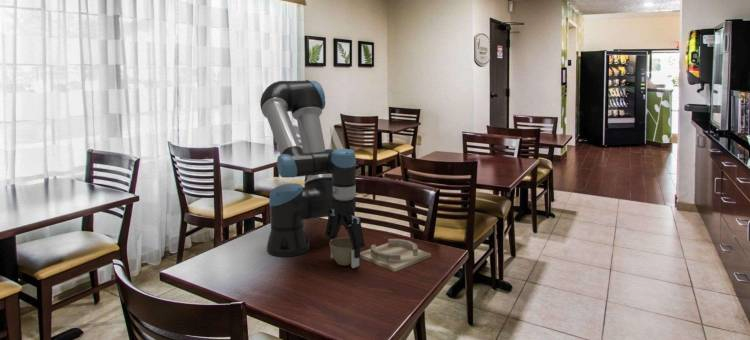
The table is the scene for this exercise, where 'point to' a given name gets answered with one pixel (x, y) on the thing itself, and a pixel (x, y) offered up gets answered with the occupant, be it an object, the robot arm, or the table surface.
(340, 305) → the table surface
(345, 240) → the flower pot
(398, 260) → the holder
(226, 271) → the table surface
